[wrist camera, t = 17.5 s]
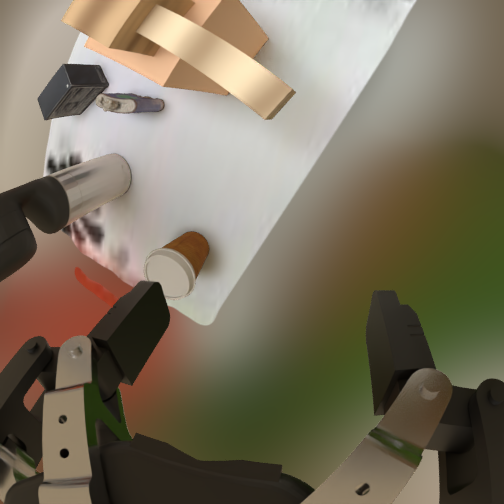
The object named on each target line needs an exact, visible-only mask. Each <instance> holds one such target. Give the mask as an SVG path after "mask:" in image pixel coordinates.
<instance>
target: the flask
mask: <svg viewBox="0 0 504 504" xmlns="http://www.w3.org/2000/svg"><path fill="white" fill-rule="evenodd" d="M96 105H97V106H99V107H101V108H103V110H104V111H105V112H107V111H111V112H115V113H139V112H157V111H160V110H162V109H163V107H164V102H163V101H162V100H161V99H158V98H156V99H153V98H151V97H147V96H145V97H141V96H137V95H135V94H120V93H116V94H110V93H109V94H104V93H101V94H99V95H98V96H97V97H96Z"/></svg>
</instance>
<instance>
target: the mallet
mask: <svg viewBox="0 0 504 504" xmlns="http://www.w3.org/2000/svg"><path fill="white" fill-rule="evenodd" d="M194 4H195V3H194V2H193V1H191V0H73V2H72V3H71V5H70V7H69V8H68V10H67V12H66V13H65V15H64V17H63V19H62V21H63V22H65V23H66V24H68V25H70V26H72V27H73V28H75V29H77V30H79V31H81V32H82V33H84V34H86V35H88V36H89V37H91V38H93V39H94V40H96V41H98V42H99V43H101V44H103V45H104V46H106V47H108V48H111V49H118V50H123V51H129V52H134V53H139V54H143V55H148V56H152V57H154V55H155V54H156V52H157V51H158V49H159V48H160V47H163V48H165V49H166V50H168V51H170V52H171V53H173V54H174V55H176V56H178V57H179V58H181V59H182V60H184V61H185V62H187V63H188V64H190V65H191V66H193V67H194V68H196V69H197V70H199V71H200V72H202V73H203V74H205V75H206V76H208V77H209V78H211V79H212V80H213V81H215V82H216V83H218V84H219V85H220V86H222V87H223V88H224V89H226V90H227V91H229V92H230V93H231V94H233V95H234V96H235V97H237V98H238V99H239V100H240V101H242V102H243V103H244V104H246V105H247V106H248V107H249V108H251V109H252V110H253V111H255V112H256V113H257V114H258V115H260V116H261V117H262V118H263V119H264V120H268V119H272V118H273V117H274V116H275V115H276V114H277V113H278V112H279V111H280V110H281V108H282V107H283V106H284V105H285V104H286V103H287V102H288V101H289V100H290V99H291V98H292V97H293V95H294V94H295V93H296V92H295V91H294V90H293V89H292V88H291V87H289V86H288V85H287V84H286V83H284V82H283V81H282V80H281V79H279V78H278V77H277V76H275V75H274V74H273V73H271V72H270V71H269V70H267V69H266V68H264V67H263V66H262V65H260V64H259V63H257V62H256V61H255V60H253V59H252V58H250V57H249V56H247V55H246V54H244V53H243V52H241V51H240V50H238V49H237V48H235V47H234V46H232V45H231V44H229V43H227V42H226V41H224V40H223V39H221V38H219V37H218V36H216V35H214V34H213V33H211V32H209V31H208V30H206V29H204V28H202V27H201V26H199V25H197V24H195V23H193V22H191V21H190V20H188V19H186V18H184V15H185V14H186V13H187V12H188V11H189V10H190V8H191V7H192V6H193V5H194Z"/></svg>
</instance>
